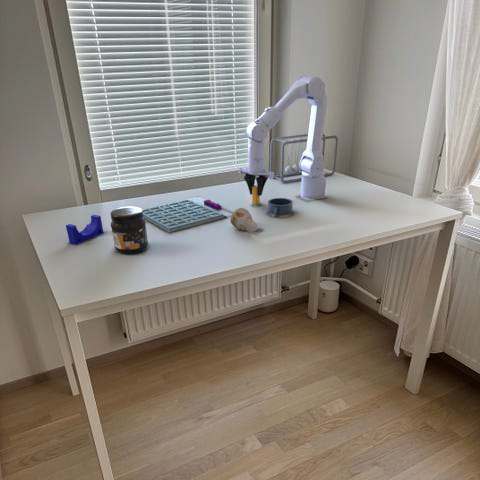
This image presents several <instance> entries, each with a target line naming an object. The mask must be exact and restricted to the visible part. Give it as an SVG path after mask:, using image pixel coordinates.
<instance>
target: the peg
mask: <svg viewBox="0 0 480 480" xmlns="http://www.w3.org/2000/svg"><path fill="white" fill-rule="evenodd" d="M260 203H261V196H258V187H257V184H255V185H254V186H252V195H251V204H252V205H259V204H260Z"/></svg>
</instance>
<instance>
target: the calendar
mask: <svg viewBox="0 0 480 480" xmlns="http://www.w3.org/2000/svg"><path fill="white" fill-rule="evenodd" d="M141 209H142V211H143V218H144V219H145V220H146V221H148V222H151V223H152V224H153V225H156V226H157V227H159V228H161V229H163V230H165V231H166V232H168V233H173V232H176V231H180V230H183V229H187V228H191V227H195V226H198V225H203V224H207V223H210V222H215V221H217V220H222V219H225V218H227V216H226V215H225V214H223V213H222V212H220V211H219V210H222V205H221V204H220V203H216V202H214V201H212V200H210V199H205V198H202V197H200V196H196V197H190V198H184V200H180V199H178V200H176V201H173V202H171V201H170V202H168V203H164V204H162V203H161V204H159V205H156V206H148V207H147V208H141Z"/></svg>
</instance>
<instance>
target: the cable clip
mask: <svg viewBox="0 0 480 480" xmlns="http://www.w3.org/2000/svg"><path fill="white" fill-rule="evenodd" d="M65 229H66V232H67V233H66V234H67V238H68V242H69V244H72V245H74V246H75V245H78V244H82V243H84V242H86V241H88V240H90V239H93V238H95V237H98V236H101V235H102V234H104V228H103V222H102V217H101V215H99V214H92V215H90V222H89V223H87V224H86V225H85V227H84V228H83V229H82V230H81V231H79V229H78V228H77V225H75V224H71V223H68V224H65Z"/></svg>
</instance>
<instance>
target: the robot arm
mask: <svg viewBox="0 0 480 480" xmlns="http://www.w3.org/2000/svg"><path fill="white" fill-rule="evenodd" d="M299 99H300V100H301V99H306V100H307V101H308V102H309V104H310V105H311V107H310V118H309V125H308V132H307V134H308V137H307V139H308V140H307V142H306V146H307V148H306V147H305V150H303V151H302V152H303V155H302V154H301V159H300V160H299V164H298V165H299V167H300V170H301V171H302V174H301V178H302V180H301V182H300V183H301V184H300V185H301V186H300V196H301V197H303V198H305V199H314V200H321V199H326V198H327V196H326V185H327V180H326V176H324V175H323V174H324V172H325V171H324V170H325V164H324V162H323V158H324V159H325V156H324V157H323V155H322V144H323V140H322V137H323V133H324V129H325V120H326V113H327V105H328V96H327V92H326V83H325V82H324V81H323V80H322V78H320V77H318V76H309V75H302V76H300V77H298V79H297V80H295V81H294V82H293V84H292V85H291V87H290V88H289V90H287V92H286V93H284V95H283V96H282V97H281V99H279V101H278V102H277V103H276V104H275V105H274V106H269V107H265V109H264V110H263V111H264V112H263V113H262V114H261V115H260V116H259V117H258V118H255V120H254V122H251V123H249V124H248V126H247V127H246V130H245V136H246V137H247V139H248V140H247V141H248V143H247V144H248V146H247V147H248V148H247V154H248V155H247V157H248V165H247V166H248V167H239V168H238V174H239V175H242V174H243V179H244V181H245V183H246V185H247V188H248V191H249V195H251V196H252V186H254V185H257V187H258V196H260V197H261V196H262V195H263V191H264V187H265V185H266V183H267V181H268V179H275V178H274V176H275V171H272V172H271V171H270V170H267V169H264V166H265V158H264V157H265V154H264V153H265V140H266V139H267V136H268V133H269V132H270V131H271V129H272V128H274V126H276V124H277V123H278V122H279V121H280V120H281V115H282V114H283V113H284V112H285V111H286V110H287V109H288V108H289V107H290V106H291V105H293V104H294V103H295V102H296V101H297V100H299ZM301 171H300V172H301ZM323 171H324V172H323ZM256 176H257V177H256ZM255 183H256V184H255Z"/></svg>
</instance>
